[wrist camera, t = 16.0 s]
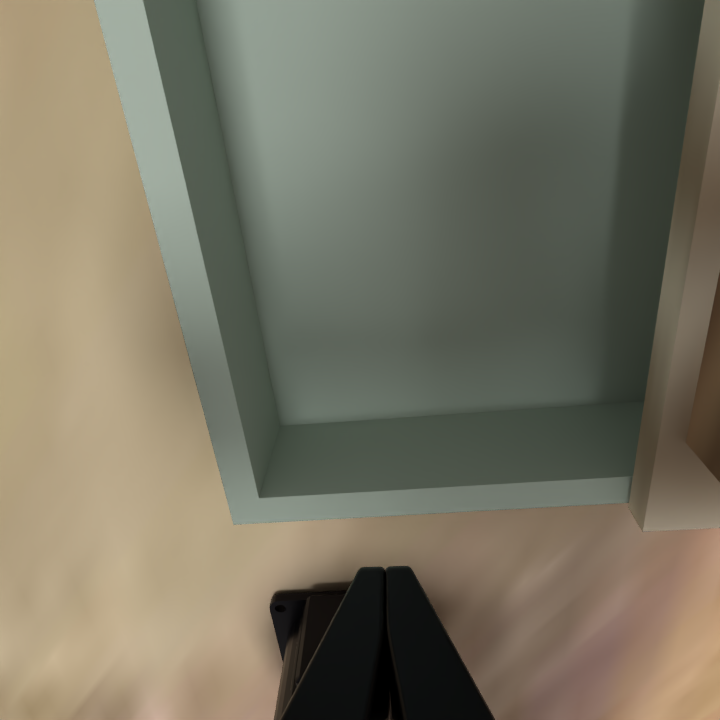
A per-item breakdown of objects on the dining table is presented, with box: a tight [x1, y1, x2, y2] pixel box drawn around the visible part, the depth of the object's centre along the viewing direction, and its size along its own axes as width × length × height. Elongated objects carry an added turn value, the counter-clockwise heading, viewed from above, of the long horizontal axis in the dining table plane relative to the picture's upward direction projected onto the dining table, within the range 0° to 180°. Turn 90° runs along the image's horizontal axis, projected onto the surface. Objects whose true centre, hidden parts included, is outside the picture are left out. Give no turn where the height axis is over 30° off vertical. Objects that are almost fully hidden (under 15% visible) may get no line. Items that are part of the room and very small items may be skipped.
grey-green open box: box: [94, 0, 705, 525], centre depth 15 cm, size 18×26×5 cm
